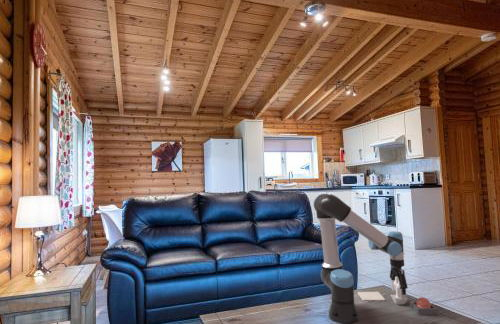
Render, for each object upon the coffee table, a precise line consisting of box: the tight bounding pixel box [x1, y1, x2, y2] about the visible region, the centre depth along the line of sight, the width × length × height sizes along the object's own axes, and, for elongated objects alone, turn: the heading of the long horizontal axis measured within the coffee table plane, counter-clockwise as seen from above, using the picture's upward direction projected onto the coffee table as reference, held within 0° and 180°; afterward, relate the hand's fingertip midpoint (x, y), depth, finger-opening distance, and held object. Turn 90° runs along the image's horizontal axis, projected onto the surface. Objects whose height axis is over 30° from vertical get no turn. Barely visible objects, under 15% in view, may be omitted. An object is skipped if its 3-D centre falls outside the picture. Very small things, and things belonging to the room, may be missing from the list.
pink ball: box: [415, 296, 432, 308], centre depth 178 cm, size 7×7×7 cm
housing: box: [409, 301, 439, 316], centre depth 178 cm, size 10×10×3 cm
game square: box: [357, 291, 386, 302], centre depth 200 cm, size 13×13×1 cm
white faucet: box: [390, 277, 408, 305], centre depth 190 cm, size 7×9×15 cm
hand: (398, 295), depth 189 cm, fingers open, 13 cm apart
